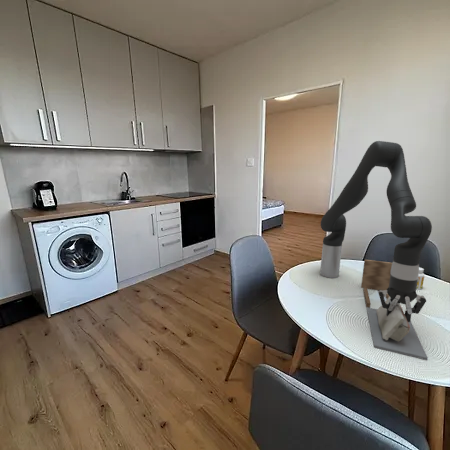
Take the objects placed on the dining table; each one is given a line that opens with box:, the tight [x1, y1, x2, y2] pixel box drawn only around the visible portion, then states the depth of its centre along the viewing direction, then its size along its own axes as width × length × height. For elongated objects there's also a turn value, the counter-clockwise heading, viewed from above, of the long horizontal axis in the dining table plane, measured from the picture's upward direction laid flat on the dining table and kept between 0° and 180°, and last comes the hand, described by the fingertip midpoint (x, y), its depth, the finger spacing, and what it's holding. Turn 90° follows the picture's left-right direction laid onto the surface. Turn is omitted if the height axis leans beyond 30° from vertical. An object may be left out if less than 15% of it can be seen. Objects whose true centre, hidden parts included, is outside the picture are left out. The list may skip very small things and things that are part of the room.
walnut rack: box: [360, 259, 393, 309], centre depth 109 cm, size 11×20×14 cm, turn 156°
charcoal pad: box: [366, 307, 428, 361], centre depth 89 cm, size 14×24×1 cm, turn 156°
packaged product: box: [376, 296, 410, 342], centre depth 88 cm, size 18×5×10 cm, turn 155°
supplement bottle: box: [416, 266, 425, 291], centre depth 119 cm, size 5×5×10 cm
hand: (397, 320), depth 87 cm, fingers closed on packaged product, 4 cm apart
